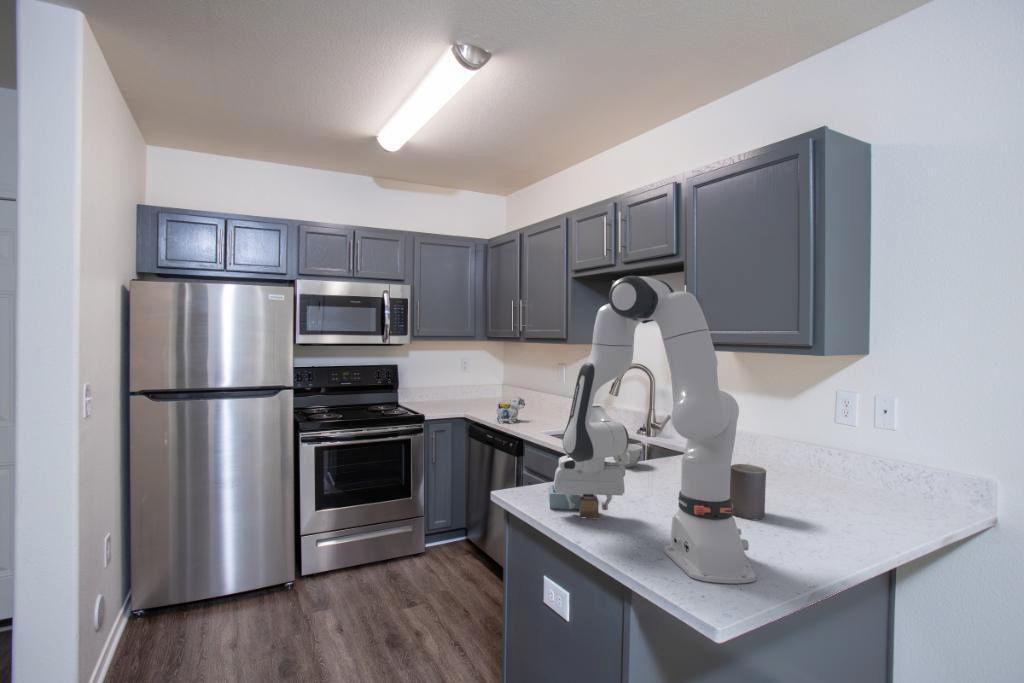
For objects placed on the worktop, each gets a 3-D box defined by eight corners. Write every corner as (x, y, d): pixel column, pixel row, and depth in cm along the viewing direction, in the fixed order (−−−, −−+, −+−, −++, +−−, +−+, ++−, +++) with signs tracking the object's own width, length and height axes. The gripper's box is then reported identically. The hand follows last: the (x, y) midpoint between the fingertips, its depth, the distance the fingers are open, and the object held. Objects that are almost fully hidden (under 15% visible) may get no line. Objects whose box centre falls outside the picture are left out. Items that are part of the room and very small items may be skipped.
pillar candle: (721, 510, 158) (723, 460, 157) (746, 507, 161) (748, 458, 161) (746, 522, 149) (748, 469, 148) (772, 518, 152) (774, 466, 152)
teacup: (609, 461, 217) (609, 442, 217) (640, 462, 216) (640, 443, 215) (611, 470, 202) (612, 450, 202) (645, 472, 201) (645, 451, 200)
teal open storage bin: (590, 510, 156) (590, 491, 156) (549, 508, 156) (550, 490, 156) (585, 493, 172) (585, 477, 172) (548, 492, 172) (548, 476, 172)
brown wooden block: (598, 519, 149) (598, 498, 149) (580, 518, 149) (580, 498, 149) (595, 511, 155) (596, 492, 155) (578, 511, 155) (579, 491, 155)
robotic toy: (522, 425, 301) (523, 398, 301) (493, 423, 304) (493, 397, 304) (526, 421, 314) (526, 396, 314) (497, 420, 317) (498, 395, 317)
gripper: (623, 459, 154) (622, 506, 154) (553, 457, 155) (553, 504, 155) (627, 465, 148) (626, 513, 148) (554, 462, 149) (553, 511, 149)
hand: (588, 509), depth 152 cm, fingers open, 8 cm apart
